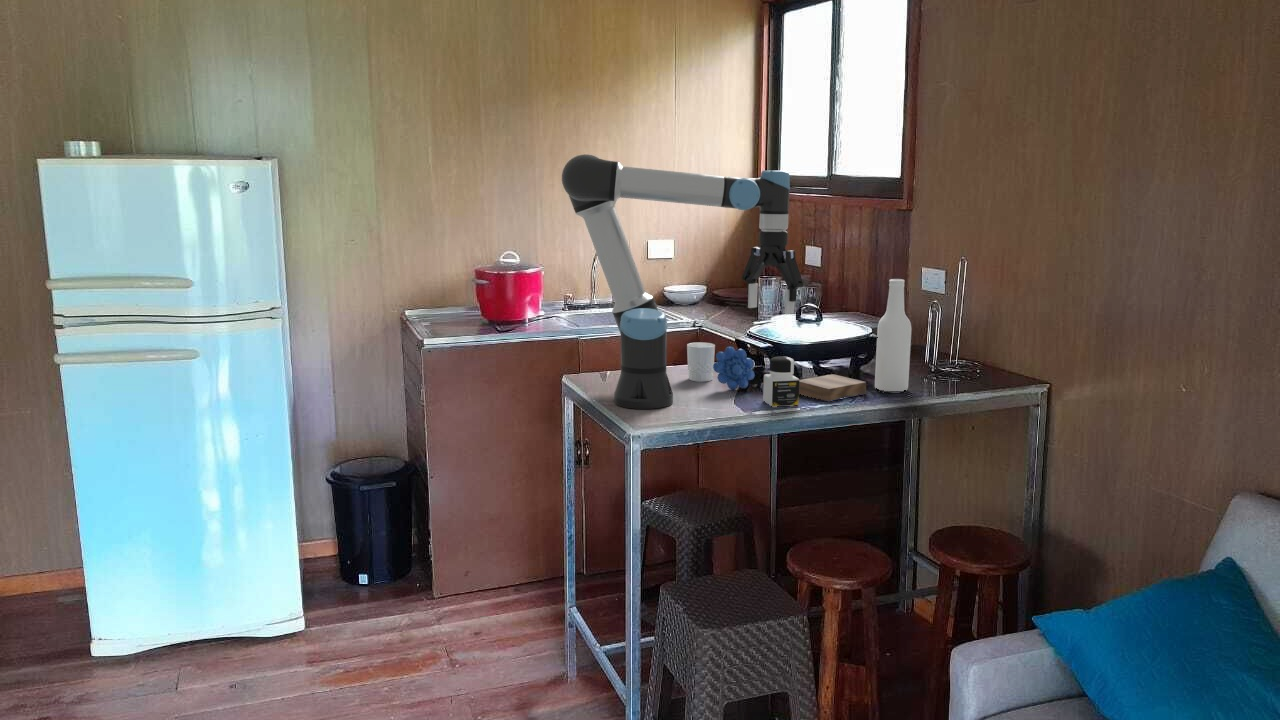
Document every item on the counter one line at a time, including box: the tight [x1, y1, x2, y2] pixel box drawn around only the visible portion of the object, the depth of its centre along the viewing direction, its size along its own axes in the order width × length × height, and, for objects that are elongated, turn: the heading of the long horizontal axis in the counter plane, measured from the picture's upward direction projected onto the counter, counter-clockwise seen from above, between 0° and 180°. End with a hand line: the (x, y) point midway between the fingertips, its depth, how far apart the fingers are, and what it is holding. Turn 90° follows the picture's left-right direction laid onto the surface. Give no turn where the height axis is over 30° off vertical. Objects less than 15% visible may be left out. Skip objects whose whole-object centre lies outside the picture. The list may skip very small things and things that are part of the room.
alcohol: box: [874, 278, 913, 391], centre depth 255 cm, size 9×9×30 cm
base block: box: [799, 373, 867, 401], centre depth 252 cm, size 14×12×4 cm
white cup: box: [686, 341, 716, 383], centre depth 270 cm, size 8×8×10 cm
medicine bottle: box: [762, 356, 800, 408], centre depth 241 cm, size 7×7×12 cm
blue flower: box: [713, 345, 756, 390], centre depth 256 cm, size 12×7×12 cm, turn 102°
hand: (770, 310), depth 253 cm, fingers open, 13 cm apart
